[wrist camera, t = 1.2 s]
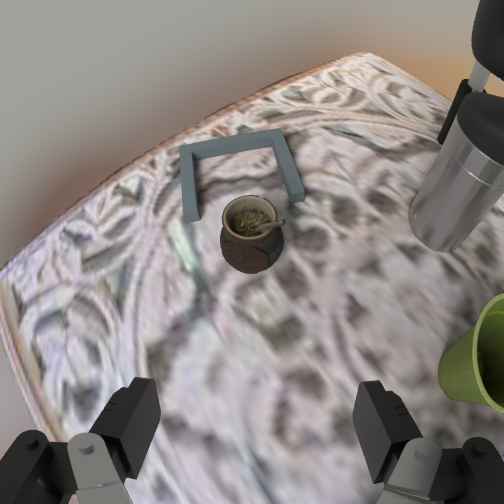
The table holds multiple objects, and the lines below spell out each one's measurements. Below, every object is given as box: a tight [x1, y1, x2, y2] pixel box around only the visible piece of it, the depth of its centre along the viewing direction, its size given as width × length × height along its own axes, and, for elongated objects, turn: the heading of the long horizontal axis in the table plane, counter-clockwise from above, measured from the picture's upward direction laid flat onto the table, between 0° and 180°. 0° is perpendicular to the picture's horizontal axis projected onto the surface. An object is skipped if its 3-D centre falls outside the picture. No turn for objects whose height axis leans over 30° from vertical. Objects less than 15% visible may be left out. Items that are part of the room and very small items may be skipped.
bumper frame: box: [179, 128, 305, 223], centre depth 43 cm, size 16×13×2 cm
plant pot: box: [438, 293, 504, 414], centre depth 24 cm, size 12×12×11 cm
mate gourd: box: [220, 195, 286, 274], centre depth 34 cm, size 7×8×10 cm
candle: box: [437, 60, 491, 145], centre depth 36 cm, size 5×5×25 cm
